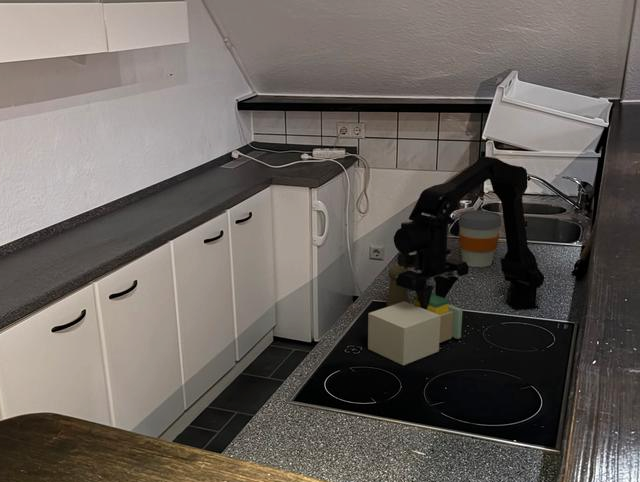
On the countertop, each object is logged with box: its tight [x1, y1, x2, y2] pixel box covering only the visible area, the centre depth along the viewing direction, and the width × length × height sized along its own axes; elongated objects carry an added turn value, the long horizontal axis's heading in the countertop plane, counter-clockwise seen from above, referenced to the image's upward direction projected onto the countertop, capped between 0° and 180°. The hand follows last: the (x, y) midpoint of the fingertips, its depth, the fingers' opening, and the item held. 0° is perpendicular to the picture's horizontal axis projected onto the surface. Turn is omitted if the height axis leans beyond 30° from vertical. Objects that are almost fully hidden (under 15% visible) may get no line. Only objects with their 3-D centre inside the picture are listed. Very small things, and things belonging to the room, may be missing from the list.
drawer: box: [439, 304, 463, 344], centre depth 181 cm, size 12×10×7 cm
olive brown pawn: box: [385, 264, 410, 307], centre depth 202 cm, size 6×6×11 cm
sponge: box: [413, 293, 450, 315], centre depth 180 cm, size 7×4×4 cm, turn 37°
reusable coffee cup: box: [458, 209, 502, 268], centre depth 233 cm, size 13×13×15 cm
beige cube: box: [367, 301, 441, 366], centre depth 176 cm, size 12×12×9 cm
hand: (431, 308), depth 180 cm, fingers closed on sponge, 4 cm apart
